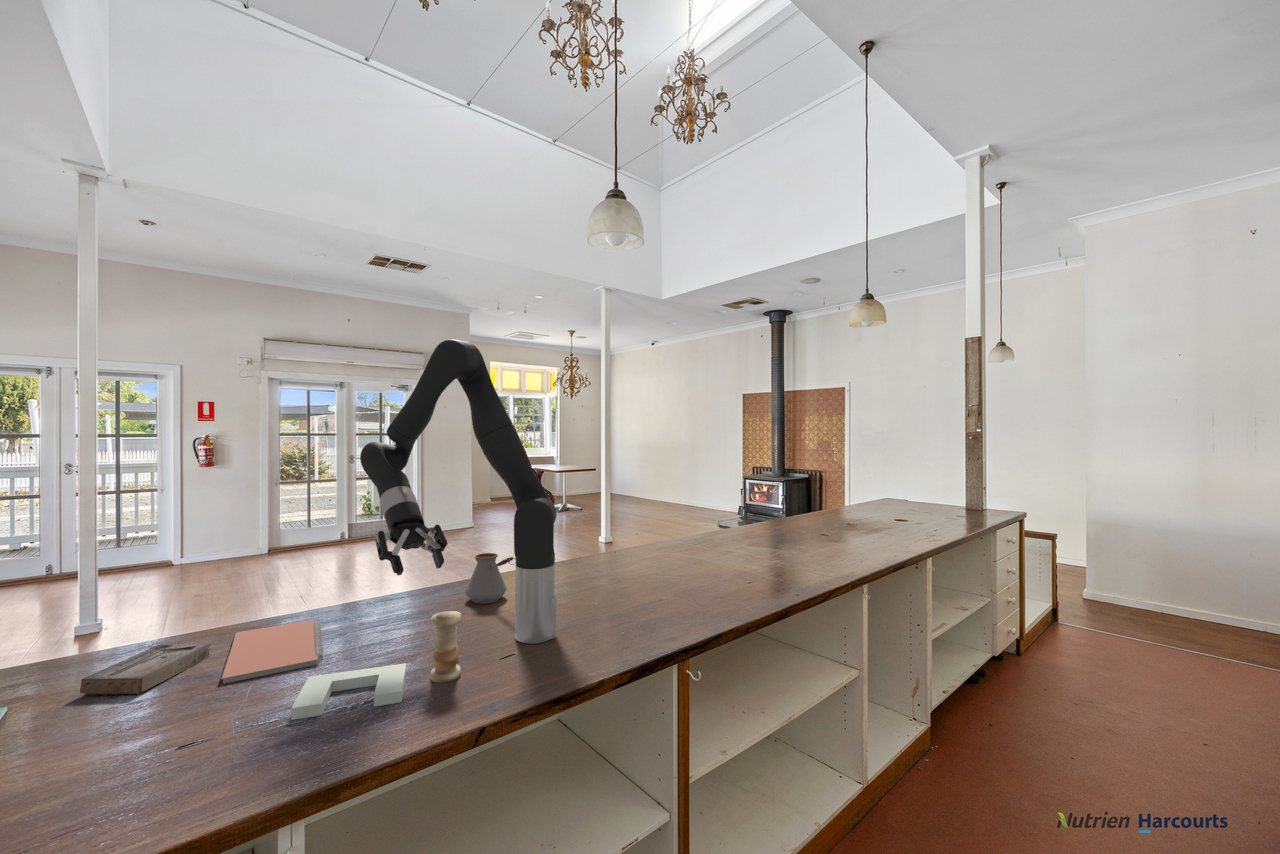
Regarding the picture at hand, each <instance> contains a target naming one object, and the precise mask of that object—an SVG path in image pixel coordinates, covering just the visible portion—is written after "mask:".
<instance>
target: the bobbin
mask: <svg viewBox="0 0 1280 854" xmlns="http://www.w3.org/2000/svg"><path fill="white" fill-rule="evenodd" d="M460 622H462V613H461V612H459V611H454V610H447V611H445V610H444V611H441V612H437V613H434V614H433V615H432V616H431V621H430V623H431V626H433V627H434V628H435V641H434V645H435V646H434V648H433V668H432V669H431V671H430V680H431V681H432V682H434V683H439V684H441V683H442V684H443V683H449V682H453V681H455V680H458V678H459V677H461V674H462V673H461V672H462V671H461V669H462V668H461V666H460V664H459V645H457V643H458V639H457V638H458V637H457V636H458V633H457V632H458V631H457V630H458V624H460Z"/></svg>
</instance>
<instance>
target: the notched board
mask: <svg viewBox="0 0 1280 854" xmlns="http://www.w3.org/2000/svg"><path fill="white" fill-rule="evenodd" d="M406 676H407V663H406V662H405V663H399V664H390V665H384V666H376V667H368V668H362V669H354V670H348V671H347V670H346V671H342V672H341V671H340V672H334V673H326V674H318V675H312V676H311V675H310V676H308V677H307V679H306V680H305V683H304V684H303V687H302V688H301V690H300V692H299V694H298V695H297V697H296V699H295V700H294V702H293V704H292V707H291V709H290V712H291V713H290V717H291V718H290V720H291V721H294V720H300V719H306V718H312V717H320V716H323V713H324V711H325V708H326V707H327V704H328V701H329V699H330V697H331V694H332V692H340V691H348V690H353V689H360V688H366V687H375V690H374V693H373V707H375V708H376V707H381V706H385V705H391V704H392V705H393V704H398V703H399V704H400V703H402V701H403V696H404V690H405V683H406Z"/></svg>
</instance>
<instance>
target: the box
mask: <svg viewBox="0 0 1280 854" xmlns="http://www.w3.org/2000/svg"><path fill="white" fill-rule="evenodd" d="M210 647H211V644H209V643H207V644H203V643H200V644H198V643H197V644H192V643H191V644H178V643H177V644H173V643H172V644H164V643H162V644H161V643H159V644H156V646H153V647H150V648H149V649H145V650H144V651H142V652H140V653H137V654H135V655H133V656H130V657H128V658H126V659H123V660H121V661H118V662H117V663H115V664H112V665H110V666H108V667H106V668H104V669H101V670H98V671H96V672H93V673H92V674H90V675H87V676H85V677H83V678H81V680H80V683H81V684H80V688H79V694H84V695H85V694H87V695H91V696H96V695H103V696H104V697H107V695H115V696H119V695H123V696H124V695H127V694H128V695H129V696H131V695H137V696H139V695H141V693H144V692H145V691H147V690H149V689H151V688H152V687H155V686H157V685H158V684H161V683H162V682H164V681H166V680H168V679H170V678H172V677H174V676H175V675H177V674H180V673H181V672H183V671H185V670H187V669H189V668H190V667H191V668H192V667H193V666H195V665H197V664H198V663H200V662H202V661H203V660H206V659H207V658H209V657H210V651H211V648H210Z"/></svg>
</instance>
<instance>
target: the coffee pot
mask: <svg viewBox="0 0 1280 854" xmlns="http://www.w3.org/2000/svg"><path fill="white" fill-rule="evenodd" d="M498 557H499V555H498V554H497V553H494V552H483V553H478V554H476V555H475V556H474V559H475V560H476V566H475V567H474V571H473V573H472V575H471V577H470V579H469V581H468V584H467V586H466V589H465V594H466V596H467V598H469V600H471V601H472V602H473V603H475V604H481V605H483V604H484V605H485V604H492V603H495V602H498V601H499V600H500V598H501V597H503V596H504V595H505V594H506V591H507V586H506V583H505V581H504V579H503V577H502V573H501V572H500V569H499V567H500V566H504V565H506V564H507V563H508V564H509V565H510V566H511V565H512V566H514V565H515V563H512V564H511V561H513V560H515V561H516V558H515V557H512V556H511V557H510V556H509V557H507V558H505V559H503V560H501V561H499V562H498V563H497V562H496V561H497V558H498Z"/></svg>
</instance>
